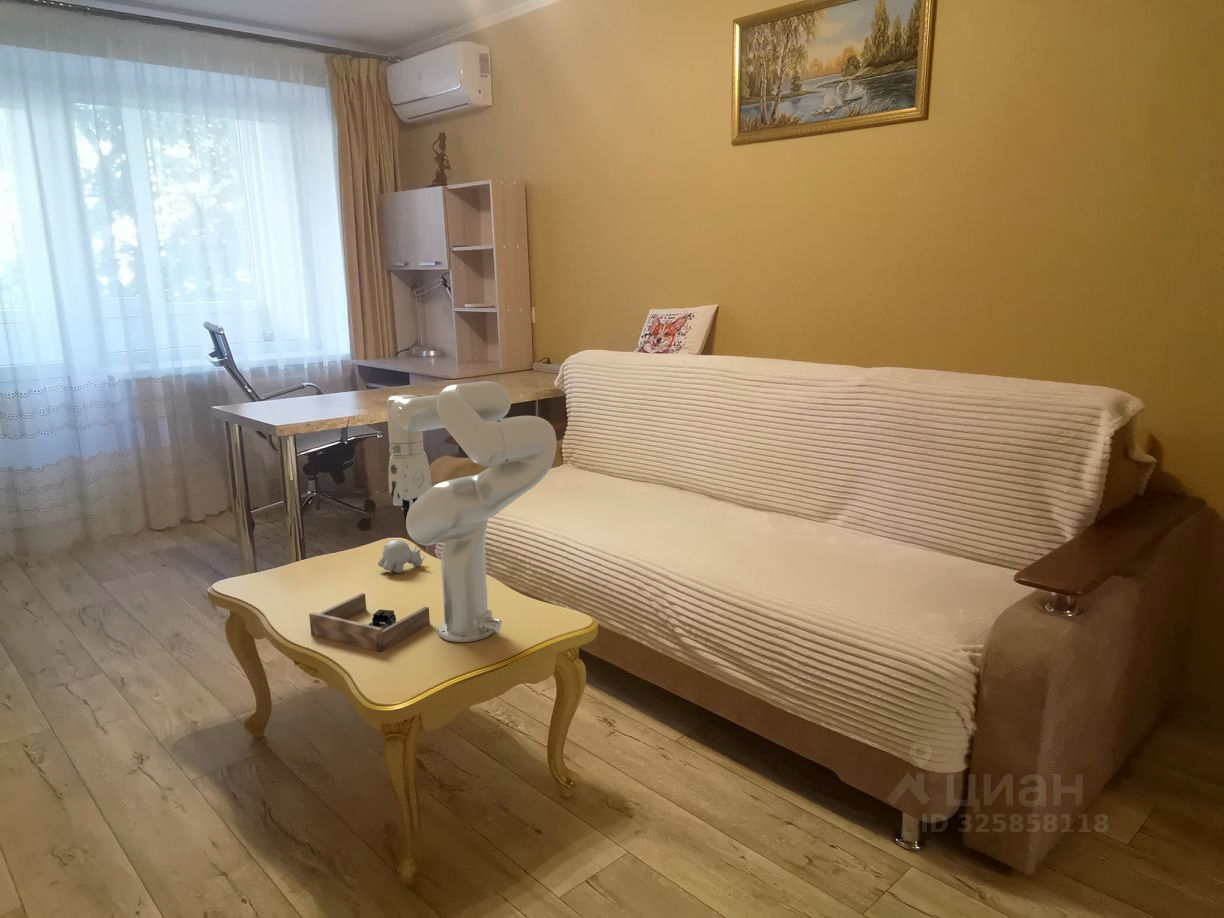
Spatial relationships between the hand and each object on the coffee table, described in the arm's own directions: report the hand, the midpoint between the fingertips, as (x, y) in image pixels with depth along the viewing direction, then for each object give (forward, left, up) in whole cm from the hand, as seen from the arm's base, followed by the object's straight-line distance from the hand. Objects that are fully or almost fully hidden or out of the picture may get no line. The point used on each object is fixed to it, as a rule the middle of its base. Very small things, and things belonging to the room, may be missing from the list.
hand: (412, 525), depth 189 cm
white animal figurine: (+20, -18, -20) cm, 34 cm away
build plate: (-2, +14, -21) cm, 25 cm away
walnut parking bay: (0, +15, -20) cm, 25 cm away
